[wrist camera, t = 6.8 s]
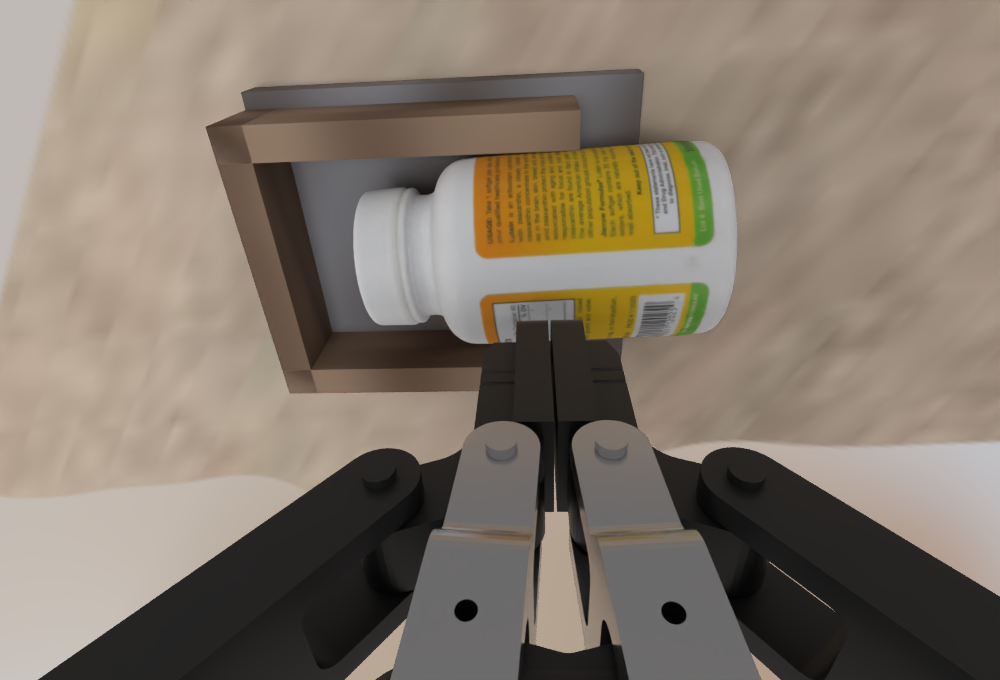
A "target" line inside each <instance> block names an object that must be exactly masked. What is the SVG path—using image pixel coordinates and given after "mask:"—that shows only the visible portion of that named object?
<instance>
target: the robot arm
mask: <svg viewBox="0 0 1000 680" xmlns="http://www.w3.org/2000/svg"><path fill="white" fill-rule="evenodd" d="M554 464H555V482H556V500H557V512H568V514H569V526H570V529H569V550H570V556H571V562H572V568H573V574H574V580H575V587H576V592H577V599H578V605H579V611H580V617H581V623H582V630H583V636H584V645H585V650H583V651H579V652H575V653H562V652H558V651H554V650H551V649H547V648H544V647H540V646H536V628H537V613H538V599H539V583H540V567H541V552H542V551H541V550H542V539H543V537H544V533H545V512H554ZM769 561H770V562H771V563H773V564H774V565H775V566H777V567H778V568H779V569H781V570H782V571H783V572H785V573H786V574H787V575H789V576H790V577H791V578H793V579H794V580H795V581H797V582H798V583H799V584H801V585H802V586H803V587H805V588H806V589H807V590H809V591H810V592H811V593H813V594H814V595H816V596H817V597H818V598H820V599H821V600H822V601H823V602H825V603H826V604H828V605H829V606H830V607H831V608H832V609H833V610H834V611H833V610H832V609H831V608H829V607H828V606H826V605H825V604H824V603H822V602H821V601H820V600H818V599H817V598H816V597H814V596H813V595H812V594H810V593H809V592H808V591H806V590H805V589H804V588H802V587H801V586H800V585H798V584H797V583H796V582H794V581H793V580H792V579H790V578H789V577H788V576H786V575H785V574H784V573H782V572H781V571H780V570H778V569H777V568H776V567H774V566H773V565H772V564H770V563H769ZM406 618H407V620H406V623H405V627H404V631H403V634H402V638H401V642H400V645H399V649H398V653H397V657H396V660H395V664H394V668H393V669H392V670H390V671H388V672H386V673H385V674H383V675H382V676H380V677H379V678H377V679H376V680H761V677H760V675H759V673H758V670H757V668H756V665H755V663H754V660H753V658H752V656H751V653H752V654H753V655H754V656H755V657H756V658H757V659H758V660H760V661H761V662H762V663H763V664H764V665H765V666H766V667H768V668H769V669H770V670H771V671H772V672H773V673H774V674H775V675H776V676H777V677H779V678H780V679H781V680H1000V596H998V595H996V594H995V593H993V592H991V591H990V590H988V589H986V588H985V587H983V586H981V585H980V584H978V583H976V582H975V581H973V580H971V579H970V578H968V577H966V576H965V575H963V574H961V573H960V572H958V571H957V570H955V569H953V568H952V567H950V566H948V565H947V564H945V563H943V562H942V561H940V560H938V559H937V558H935V557H933V556H932V555H930V554H928V553H927V552H925V551H923V550H922V549H920V548H918V547H917V546H915V545H913V544H912V543H910V542H908V541H907V540H905V539H903V538H902V537H900V536H899V535H896V534H895V533H894V532H892V531H890V530H889V529H887V528H885V527H884V526H882V525H880V524H879V523H877V522H875V521H874V520H872V519H870V518H869V517H867V516H865V515H864V514H862V513H860V512H859V511H857V510H855V509H854V508H852V507H850V506H849V505H847V504H845V503H844V502H842V501H841V500H839V499H837V498H836V497H834V496H832V495H831V494H829V493H827V492H826V491H824V490H822V489H820V488H819V487H817V486H816V485H814V484H812V483H811V482H809V481H807V480H806V479H804V478H802V477H801V476H799V475H797V474H796V473H794V472H792V471H791V470H789V469H787V468H786V467H784V466H783V465H781V464H779V463H777V462H776V461H774V460H773V459H771V458H769V457H767V456H765V455H763V454H761V453H759V452H756V451H753V450H749V449H744V448H736V447H731V448H722V449H718V450H715V451H713V452H711V453H710V454H708V455H707V456H706V457H705V458H704V460H703V462H702V464H700V463H696V462H691V461H687V460H683V459H678V458H675V457H671V456H669V455H666V454H664V453H662V452H660V451H658V450H656V449H655V448H653V447H652V446H651V444H650V442H649V440H648V438H647V437H646V436H645V434H644V433H642V432H641V431H640V430H639V429H638V427H637V423H636V419H635V415H634V411H633V407H632V403H631V399H630V395H629V391H628V388H627V384H626V380H625V376H624V372H623V369H622V364H621V360H620V356H619V353H618V352H617V351H616V350H615V349H614V348H613V347H612V346H611V345H610V344H609V343H608V342H607V341H606V340H600V341H586V337H585V331H584V325H583V320H582V319H575V320H551V322H550V345H549V329H548V320H533V321H517V324H516V342H498V343H493V345H492V346H491V347H490V348H489V349H488V351H487V352H486V353H485V354H484V355H483V363H482V373H481V379H480V387H479V396H478V404H477V412H476V420H475V428H474V431H472V432H471V433H470V434H469V435H468V436H467V438H466V440H465V442H464V444H463V448H462V449H461V450H460V451H458V452H457V453H455V454H453V455H451V456H449V457H447V458H444V459H440V460H437V461H433V462H429V463H425V464H421V465H419V463H418V461H417V460H416V458H415V457H414V456H412V455H411V454H410V453H408V452H406V451H403V450H400V449H392V448H386V449H378V450H373V451H370V452H367V453H365V454H363V455H361V456H359V457H358V458H356V459H354V460H353V461H351V462H350V463H349V464H347V465H346V466H344V467H343V468H341V469H340V470H339V471H337V472H336V473H334V474H333V475H331V476H330V477H329V478H327V479H326V480H324V481H323V482H321V483H320V484H318V485H317V486H316V487H314V488H313V489H311V490H310V491H308V492H307V493H306V494H304V495H303V496H301V497H300V498H298V499H297V500H295V501H294V502H293V503H291V504H290V505H288V506H287V507H285V508H284V509H283V510H281V511H280V512H278V513H277V514H275V515H274V516H273V517H271V518H270V519H268V520H267V521H265V522H264V523H262V524H261V525H260V526H258V527H257V528H255V529H254V530H252V531H251V532H249V533H248V534H247V535H245V536H244V537H242V538H241V539H239V540H238V541H237V542H235V543H234V544H232V545H231V546H229V547H228V548H227V549H225V550H224V551H222V552H221V553H219V554H218V555H216V556H215V557H214V558H212V559H211V560H209V561H208V562H207V563H205V564H204V565H202V566H201V567H199V568H198V569H196V570H195V571H194V572H192V573H191V574H189V575H188V576H186V577H185V578H183V579H182V580H181V581H179V582H178V583H176V584H175V585H173V586H172V587H170V588H169V589H168V590H166V591H165V592H163V593H162V594H160V595H159V596H158V597H156V598H155V599H153V600H152V601H150V602H149V603H148V604H146V605H145V606H143V607H142V608H140V609H139V610H138V611H136V612H135V613H134V614H132V615H130V616H129V617H127V618H126V619H125V620H123V621H122V622H120V623H119V624H117V625H116V626H114V627H113V628H112V629H110V630H109V631H107V632H106V633H104V634H103V635H102V636H100V637H99V638H97V639H96V640H94V641H93V642H91V643H90V644H89V645H87V646H86V647H84V648H83V649H81V650H80V651H79V652H77V653H76V654H74V655H73V656H72V657H70V658H68V659H67V660H66V661H64V662H63V663H61V664H60V665H58V666H57V667H56V668H54V669H53V670H51V671H50V672H48V673H47V674H46V675H44V676H43V677H41V678H40V679H38V680H345V679H346V678H347V677H348V676H349V675H350V674H351V673H352V672H353V671H354V670H355V669H356V668H357V667H358V666H359V665H360V664H361V663H362V662H363V661H364V660H365V659H366V658H367V657H368V656H369V655H370V654H371V653H372V652H373V651H374V650H375V649H376V648H377V647H378V646H379V645H380V644H381V643H382V642H383V641H384V640H385V639H386V638H387V637H388V636H389V635H390V634H391V633H392V632H393V631H394V630H395V629H396V628H397V627H398V626H399V625H400V624H401V623H402V622H403V621H404V620H405V619H406ZM750 652H751V653H750Z"/></svg>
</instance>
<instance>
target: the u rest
mask: <svg viewBox="0 0 1000 680" xmlns="http://www.w3.org/2000/svg"><path fill="white" fill-rule="evenodd" d="M643 81H644V73H643V72H642V71H641V70H639V69H627V70H606V71H586V72H565V73H545V74H524V75H504V76H483V77H463V78H442V79H422V80H401V81H381V82H360V83H340V84H319V85H298V86H278V87H257V88H252V89H249V90H247V91H244V92H241V94H242V98H243V102H244V105H245V109H246V110H245V111H243V112H240V113H238V114H235V115H233V116H231V117H228V118H226V119H223V120H221V121H219V122H216V123H214V124H211V125H209V126H207V127H206V130H207V133H208V136H209V139H210V143H211V146H212V149H213V152H214V155H215V158H216V162H217V165H218V168H219V171H220V174H221V177H222V181H223V184H224V187H225V190H226V193H227V196H228V200H229V203H230V206H231V209H232V212H233V215H234V218H235V222H236V225H237V228H238V231H239V234H240V237H241V241H242V244H243V247H244V250H245V253H246V256H247V260H248V263H249V266H250V269H251V272H252V275H253V279H254V282H255V285H256V288H257V291H258V294H259V297H260V301H261V304H262V307H263V310H264V313H265V316H266V320H267V323H268V326H269V329H270V332H271V335H272V339H273V342H274V345H275V348H276V351H277V354H278V358H279V361H280V364H281V367H282V370H283V373H284V376H285V380H286V383H287V386H288V389H289V392H290V393H360V392H438V391H479V387H480V379H481V373H482V363H483V355H484V354H485V353H486V352H487V351H488V349H489V348H490V347H491V346H492V345H493V344H474V343H469V342H466V341H463V340H462V339H460V338H458V337H457V336H456V335H455V334H454V333H453V332H452V331H451V329H450V328H449V326H448V325H447V323H446V321H445V318H444V317H443V316H442V315H430V317H429V319H428V320H427V321H426V322H424V323H418V324H416V325H380V324H377V323H376V322H374V321H373V320H372V318H371V317H370V315H369V314H368V312H367V310H366V308H365V305H364V303H363V300H362V296H361V293H360V290H359V286H358V281H357V276H356V270H355V262H354V249H353V229H354V218H355V213H356V208H357V205H358V202H359V200H360V198H361V196H362V195H363V194H364V193H365V192H367V191H370V190H378V189H388V188H399V187H405V188H407V189H408V188H415V189H417V190H418V192H419V193H420V195H428V194H431V193H433V192H434V191H435V187H436V184H437V181H438V179H439V177H440V175H441V174H442V172H443V171H444V170H445V169H446V167H447V166H449V165H450V164H451V163H453V162H455V161H457V160H460V159H464V158H473V157H479V156H491V155H505V154H516V153H525V152H526V153H530V152H550V151H575V150H580V149H585V148H598V147H612V146H625V145H637V144H638V142H639V130H640V118H641V105H642V93H643ZM622 339H623V338H609V339H587V340H586V341H600V340H606V341H607V342H608V343H609V344H610V345H611V346H612V347H613V348H614V349H615V350H616V351H617V352H618V353H619V356H620V360H621V351H622ZM549 345H550V341H549Z"/></svg>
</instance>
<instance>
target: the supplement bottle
mask: <svg viewBox="0 0 1000 680" xmlns="http://www.w3.org/2000/svg"><path fill="white" fill-rule="evenodd" d="M353 249H354V262H355V270H356V276H357V281H358V286H359V290H360V293H361V296H362V300H363V303H364V305H365V308H366V310H367V312H368V314H369V315H370V317H371V318H372V320H373V321H374V322H376V323H377V324H380V325H416V324H418V323H424V322H426V321H427V320H428V319H429V317H430V315H442V316H443V317H444V318H445V321H446V323H447V325H448V326H449V328H450V329H451V331H452V332H453V333H454V334H455V335H456V336H457V337H458V338H460V339H462V340H463V341H466V342H469V343H474V344H493V343H498V342H516V324H517V321H533V320H548V329H549V341H550V322H551V320H575V319H582V320H583V325H584V331H585V337H586V340H587V339H609V338H629V337H653V336H672V335H685V334H697V333H703V332H707V331H709V330H711V329H712V328H714V327H715V326H716V325H717V324H718V323H719V322H720V320H721V319H722V317H723V315H724V313H725V311H726V309H727V307H728V304H729V301H730V298H731V294H732V291H733V287H734V281H735V273H736V261H737V217H736V204H735V196H734V189H733V184H732V179H731V175H730V171H729V168H728V165H727V162H726V160H725V158H724V156H723V154H722V153H721V152H720V150H719V149H718V148H717V147H716V146H714V145H713V144H711V143H709V142H706V141H675V142H663V143H651V144H637V145H625V146H612V147H598V148H585V149H580V150H575V151H550V152H530V153H526V152H525V153H516V154H505V155H491V156H479V157H473V158H464V159H460V160H457V161H455V162H453V163H451V164H450V165H449V166H447V167H446V169H445V170H444V171H443V172H442V174H441V175H440V177H439V179H438V181H437V184H436V187H435V191H434V192H433V193H431V194H428V195H420V193H419V192H418V190H417V189H415V188H408V189H407V188H405V187H399V188H388V189H378V190H370V191H367V192H365V193H364V194H363V195H362V196H361V198H360V200H359V202H358V205H357V208H356V213H355V218H354V229H353Z"/></svg>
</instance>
